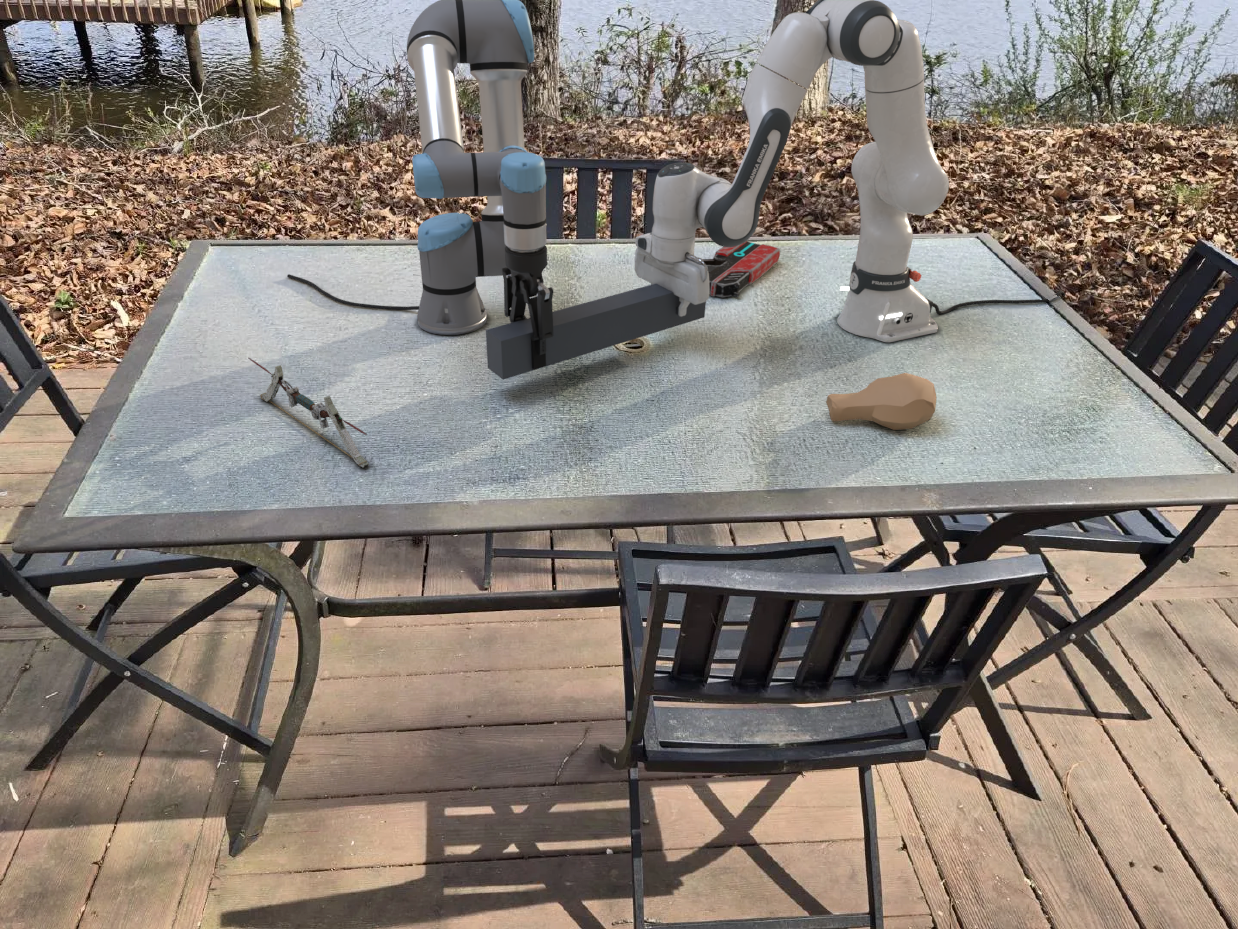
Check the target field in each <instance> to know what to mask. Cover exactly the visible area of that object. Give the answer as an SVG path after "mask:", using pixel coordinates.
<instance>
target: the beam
mask: <svg viewBox="0 0 1238 929" xmlns="http://www.w3.org/2000/svg"><path fill="white" fill-rule="evenodd" d="M680 304H681V302H680V301H679V297H678V296H676V295H674V292H672V291H670V290H668V289H666V288H664V287H662V286H660V285H658V284H653V285H651V284H649V285H646V286H645V285H644V286H643V287H639V288H635V289H630V290H627V291H624V292H620V293H616V294H612V295H608V296H605V297H602V298H601V297H600V298H598V299H595V300H591V301H586V302H583V303H579V304H576V305H573V306H572V305H571V306H568V307H565V308H560V309H557V310H552V311H553V333H554V336H553V337H551V338H548V339H546V366H545V367H542V368H543V369H544V368H546V367H548V366H552V365H555V364H559V363H562V362H565V361H568V360H571V359H572V360H573V359H575V358H577V357H581V356H584V355H588V354H591V353H594V352H598V351H600V350H603V349H607V348H610V347H614V346H616V345H619V344H623V343H626V342H630V341H633V340H635V339H636V340H637V339H639V338H642V337H645V336H648V335H652V334H655V333H659V332H662V331H666V330H668V329H671V328H676V327H679V326H681V325H685V324H687V323H691V322H695V321H697V320H700V319H704V318H705V316H706V306H707V305H706V304H707V301H706V302H703V303H700V304H697V305H695V304H692V303H690V304H689V305H688V307H687V310H686V315H685V316H682V317H681V316H679V315H677V314H676V307H678V306H680ZM531 337H534V335H533V330H532V324H531V319H530V317H527V319H524V320H520V321H517V322H513V323H511V322H510V323H505V324H503V325H502V324H501V325H499V326H494V327H492V328H487V329H486V330H485V340H486V341H485V344H486V359H487V360H486V361H487V369H488V370H490V371H491V372H492V373H494V374H495V375H496V376H498V377H499V378H500V379H501V380H507V379H510V378H513V377H516V376H520V375H522V374H523V375H524V374H526V373H529V372H533V371H535V370H534V369H532V352H531ZM542 368H541V369H542Z"/></svg>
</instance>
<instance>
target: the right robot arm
mask: <svg viewBox="0 0 1238 929" xmlns="http://www.w3.org/2000/svg"><path fill="white" fill-rule="evenodd" d="M921 45H922V44H921V39H920V36H919V31H918V29H917V27H916V25H914V24H913V23H912V22H911V21H907V20H905V19H897V17H896V14H895V13H894V11H893V10H892V9H891V8H890V7H889V6H888V5H887V4H885V3H884V2H882V1H879V0H816V1H815V2H814V3H813V4H812V5H811V6H810V7H809V9H807V10H806V11H804V12H801V11H800V12H798V11H797V12H791V13H789V14H787V15H786V16H784V18H783V19H781V21H780V23H779V24H778V25H777V27H776V28H775V29H774V31H773V33H772V34H771V35H770V36H769V39H768V40H767V42H766V43H765V45H764V47H763V48H762V49H761V50H762V51H761V52H760V53H759V56H758V58H757V60H756V63H754V65H753V68H752V69H751V72H750V74H749V75H748V78H747V82H746V85H745V89H744V93H743V96H742V101H743V102H742V103H743V107H744V111H745V114H746V117H747V121H748V127H749V140H748V144H747V148H746V151H745V153H744V156H743V157H742V160H741V162H740V165H739V167H738V169H737V172H736V174H735V176H734V179H733V181H732V182H730V181H729V180H727V179H726V178H724V177H720V176H719V177H718V176H714V175H711V174H708V173H706V172H704V171H702V170H700V169H699V168H698V167H697V166H695V165H694V164H693V163H690V162H675V163H670V164H667V165H665V166H664V167H663V168H661V169H659V171H658V173H657V174H656V177H655V182H654V188H653V195H652V215H653V225H652V228H651V232H648V233H644V234H641V235H638V236H636V237H635V239H634V240H635V241H634V244H635V246H636V248H635V252H634V272H635V275H636V276H637V278H638V279H641V280H643V281H646V282H648V283H650V285H653V284H658V285H660V286H662V287H664V288H666V289H668V290H670V291H672V292H674V295H676V296H678V297H679V301H680V302H681V304H680V306H678V307H676V314H677V315H679V316H681V317H682V316H685V315H686V310H687V307H688V305H689V304H690V303H692V304H695V305H697V304H700V303H703V302H706V303H707V301H708V300H709V299H710V294H709V273H708V268H707V266H706V264H705V263H704V260H703V259H704V258H702V257H699V256H696V255H695V247H696V246H695V245H696V244H695V243H696V231H697V229H699V228H704V229H705V231H706V233H707V234H708V236H709V238H710V239H711V240H712V242H713V243H714V244H716V245H718V246H720V247H734V246H738V245H740V244H742V243H744V242H746V241H747V242H748V240H749V239H750V238H751V237H752V236H754V233H755V232H756V230H757V228H758V225H759V220H760V211H761V206H762V201H763V198H764V196H765V193H766V191H767V189H768V186H769V184H770V182H771V180H772V177H773V176H774V173H775V170H776V168H777V165H778V163H779V161H780V159H781V156H782V153H783V151H784V149H785V147H786V144H787V142H788V139H789V134H790V132H791V129H792V125H793V123H794V120H795V118H796V115H797V113H798V111H799V109H800V106H801V105H802V102H803V100H804V98H805V97H806V94H807V92H808V90H809V88H810V86H811V85H812V83H813V80H814V78H815V76H816V73H818V71H819V70H820V68H821V67H822V66H823V65H824V64H825V63H826V62H827V61H828V60H830V59H831V58H834V60H835V59H836V60H838V61H842V62H843V61H844V62H848V63H850V64H852V65H856V66H861V67H863V72H864V91H865V92H864V94H865V95H864V96H865V110H866V111H865V112H866V125H867V129H868V132H869V133H870V135H871V136H872V138H873V140H874V141H873V142H872V141H871V142H868V143H866V144H865V145H862V147H860V148H859V150H858V151H856V154H855V155H854V157H853V160H852V162H851V170H850V171H851V176H852V178H853V181H854V184H855V186H856V189H857V194H858V204H859V216H860V217H859V218H860V225H859V226H860V227H859V229H860V230H859V237H858V244H857V250H856V254H855V255H856V256H855V260H854V261H853V263H852V267H851V271H850V277H849V283H848V284H849V285H848V286H840V289H839V291H847V294H846V299H845V302H844V304H843V306H842V309H841V311H840V313H839V315H838V317H837V319H836V321H837V324H838V326H839V327H840V328H841V329H842V330H844V331H845V332H848V333H850V334H853V335H856V336H859V337H863V338H864V337H865V338H870V339H874V340H877V341H879V342H883V343H893V342H897V341H903V340H907V339H913V338H916V337H917V338H918V337H922V336H926V335H931V334H935V333H937V332H938V330H939V329H938V328H939V327H938V323H937V322H936V320H935V319H934V318H933V317H931V312H932V309H933V308H934V310H935V313H936V314H937V315H946V314H948V313H950V312H953V311H954V310H956V309H958V308H963V307H967V306H975V305H986V304H987V305H988V304H1009V305H1010V304H1017V305H1018V304H1041V303H1048V302H1050V301H1049V300H1048V299H1046V298H1042V299H1043V300H1040V299H1041V298H1039V299H985V300H971V301H966V302H961V303H957V304H954V305H953V306H951V307H949V308H947V309H946V310H940V307H939V305H938V304H937V303H935V302H933V301H932V300H931V299H928V298H927V297H925V295H924V294H922V293H921V292H920V290H918V289H917V287H915V286H914V285H913V284H912V283H911V280H912V281H913V282H914V283H919V282H920V280H922V274H921V273H920V272H918V271H917V270H912V269H911V268H910V267H909V266H908V263H909V258H910V255H911V250H912V244H913V240H914V231H913V228H912V226H911V223H910V221H909V217H908V214H911V215H915V216H916V215H918V216H926V215H929V214H932V213H933V212H935V211H936V210H938V209H939V208H940V207H941V205H942V204H943V203H944V201H945V200H946V198H947V195H948V193H949V188H950V180H949V177H948V175H947V173H946V172H945V170H944V169H943V167H942V165H941V164H940V162H939V160H938V157H937V154H936V151H935V149H934V145H933V141H932V138H931V134H930V131H929V126H928V122H927V114H926V99H925V98H926V97H925V96H926V95H925V68H924V57H923V49H922V46H921ZM1054 295H1057V296H1058V297H1059V296H1061V297H1066V293H1065V292H1064V291H1063V290H1059V291H1057V292H1056V293H1055V294H1054Z"/></svg>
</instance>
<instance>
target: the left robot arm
mask: <svg viewBox="0 0 1238 929" xmlns="http://www.w3.org/2000/svg"><path fill="white" fill-rule="evenodd" d="M533 36H534V35H533V31H532V26H531V20H530V18H529V13H528V10H527V7H526V6H525V4H524V3H523V2H522V1H521V0H437V1H435V2H433V3H431V4H430V5H428V6H427V7H426V8H425V9H424V10H422V12H421V13H419V15H418V16H417V18H416V19H415V20H414V22H413V24H412V26H411V28H410V30H409V33H408V36H407V41H406V57H407V63H408V65H409V67H410V68H411V70H412V71H413V72H414V82H415V93H416V94H415V95H416V104H417V112H418V113H417V114H418V123H419V134H420V142H421V153H417V154H414V155H413V156H412V162H411V163H412V174H413V183H414V191H415V194H416V195H417V197H419V198H421V199H438V200H442V199H452V198H454V199H455V198H471V197H479V198H480V197H486V201H487V204H486V205H485V207H484V208H483V209H482V210H481V212H480V216H481V220H480V221H473V218H472V217H471V216H470V215H469V214H468V213H464V212H462V213H460V212H448V213H443V214H437V215H434V216H431V217H430V218H427V219H426V220H424V221H423V222H421V224H419V226H418V229H417V247H416V248H417V250H418V252H419V253H418V255H419V263H420V275H421V276H420V277H421V284H422V292H421V297H420V302H419V305H412V306H411V305H410V306H409V305H408V306H399V305H397V306H396V305H395V306H394V305H381V304H368V303H361V302H353V301H348V300H346V299H345V300H344V299H342V298H339V297H337V296H334V295H332V294H331V293H329V292H327V291H325V290H323V289H322V288H320V287H319V286H318V285H317V284H315V283H314V282H312V281H310V280H308V279H305V278H303V277H300V276H299V277H298V276H296V275H293V274H290V273H288V274H287V275H286V277H287V278H288V279H292V280H295V281H298V282H301V283H304V284H306V285H308V286H310V287H312V288H313V289H315V290H316V291H318V292H319V293H320V294H322V295H323V296H325V297H326V298H329V299H330V300H332V301H334V302H337V303H340V304H342V305H347V306H351V307H358V308H364V309H365V308H366V309H376V310H388V311H417V316H416V318H417V325H418V326H419V328H420V329H421V330H423V331H424V332H427V333H430V334H433V335H440V336H459V335H465V334H469V333H473V332H476V331H477V330H480V329H481V328H483V327H484V326H485V325H486V323H487V320H488V316H487V310H486V306H485V304H484V302H483V299H482V298H481V295H480V293H479V291H478V288H477V278H483V277H484V278H485V277H501V276H502V278H503V305H504V306H503V310H504V316H505V318H509V322H510V323H513V322H517V321H520V320H524V319H528V317H526V314H525V313H526V307H527V309H528V314H529V318H530V319H531V324H532V330H533V335H534V337H531V352H532V369H534V370H533V371H536V370H539V369H542V367H543V368H546V367H547V366H546V339H548V338H551V337H553V336H554V333H553V311H554V310H553V298H554V297H553V296H554V289H553V287H551V286H549V287H547V286H546V285H545V284H544V281H545V280H544V276H543V271H544V270H545V269H546V267H547V266H548V247H547V243H548V242H547V186H546V185H547V184H546V183H547V173H546V163H545V160H544V158H543V157H542V156H541V155H537V154H536V153H533V152H529V151H528V150H526V148H525V133H524V114H523V100H522V99H523V98H522V80H523V79H524V78H525V77H526V75H527V74H528V64H529V65H530V64H532V63H533V62H534V60H535V49H534V45H535V44H534V38H533ZM458 64H469V73H470V75H471V76H472V77H473V78H474V79H475V80H476V81H477V83H478V93H479V106H480V118H481V131H482V132H481V133H482V147H483V152H481V151H480V152H465V147H464V140H463V139H464V138H463V129H462V123H461V122H462V121H461V114H460V107H459V99H458V91H457V82H456V75H455V69H456V68H457V65H458ZM545 366H546V367H545Z"/></svg>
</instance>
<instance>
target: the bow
mask: <svg viewBox="0 0 1238 929" xmlns="http://www.w3.org/2000/svg"><path fill="white" fill-rule="evenodd" d="M247 358H248V359H249V360H250V361H251V362H252V363H253V364H255V365H256V366H257V367H259V368H260V369H262V370H263V371H265V372H266V373H268V374H269V375H271V379H270V380H271V381H270V384H269V385H268V387H267V389H266V392H262V393H260V394H259V397H260V399H261V400H262V401H264V402H269V403H271V404H272V405H274V406H276V407H277V408H278V409H280V410H281V411H283V412H284V413H286V414H287V415H288V416H290V417H291V418H293V419H294V420H296V421H297V422H298V423H300V424H302V425H303V426H305V427H306V428H308V429H309V430H311V431H312V432H313V433H315V434H316V435H318V436H319V437H320V438H323V440H324V441H327V442H328V443H330V444H331V445H332V446H334V447H335V448H337V449H338V450H339V451H341V452H343V453H344V454H345V455H347V456H348V457H350V458H351V459H353V461H354V462H355V463H356V465H357V466H359V467H360V468H365V466H370V463H369V462H368V460H366V459H365V458H364V457H363V456H362V454H361V453H360V451H359V449H358V448H357V445H356V444H355V441H354V440H353V438H352V436H351V435H350V433H349V431H348V430H347V426H346V425H348V426H350V427H351V428H353V429H354V430H356V431H357V432H359V433H361V434H363V435H365V436H368V433H366V432H365V431H363V430H362V429H360V428H359V427H357V426H356V425H354V424H352V423H350V422H349V421H347V420H344V419H343V417H342V416H341V414H340V413H339V411H338V409H337V408H336V406H335V404H334V402H333V400H332V397H331V396H330V395H327V396H324V397H323V402H324V403H323V402H322V401H321V402H318V403H316V404H315V402H314V401H313V400H312V399H311V398H309V397H307V395H304V394H301V392H300V389H299V386H293V385H292V384H290V383H289V381H287V380H285V379H284V372H283V367H282V365H281V364H279V365H276V366H275V367H274V372H273V373H271V372H270V371H269V370H268V369H267V368H265V367H264V366H263V365H262V364H260V363H259V362H257V361H256V360H254V359H252V358H251V357H249V356H248V357H247ZM280 387H281V388H282V389H283V390H284V392H285V393H286V396H287V398H288V406H289V407H290V408H291V409H293V408H294V407H298V405H300V406H301V407H303V408H305V409H306V410H307V411H309V412H311V416H312V418H313V419H314V420H317V421H319V425H320V428H321V429H322V430H324V429H326V428H329V427H330V426H329V422H328V420H327V418H330V420H331V421H332V423H333V425H334V427H335V429H336V431H337V432H338V435H339V437H340V439H341V441H342V443H343V444H344V445H345V447H346V448H345V449H347V452H346V451H345V450H344V449H342V448H340V447H339V446H338V445H336V444H335V443H333V442H332V441H330V440H328V439H327V438H326V437H324V436H323V435H321V434H320V433H319V432H317V431H316V430H314V429H312V428H311V427H310V426H308V425H307V424H305V423H304V422H302V421H301V420H299V419H297V417H295V416H293V414H291V413H289V412H288V411H286V410H285V409H283V408H282V407H281V406H279V405H278V404H276V403H274V402H273V401H272V400H274V399H275V398H276V396H277V394H278V392H279V390H280ZM344 423H345V424H346V425H345V424H344Z"/></svg>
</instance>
